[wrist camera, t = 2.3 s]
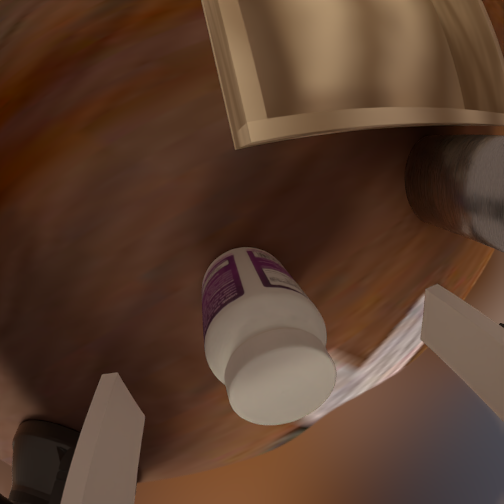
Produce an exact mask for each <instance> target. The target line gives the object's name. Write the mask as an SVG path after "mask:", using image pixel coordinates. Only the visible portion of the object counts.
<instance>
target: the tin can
mask: <svg viewBox="0 0 504 504" xmlns="http://www.w3.org/2000/svg"><path fill="white" fill-rule="evenodd" d="M405 188H406V194H407V198H408V201H409V204H410V206H411V208H412V210H413V211H414V213H415V214H416V215H417V217H418V218H420V219H421V220H422V221H424V222H426V223H428V224H431V225H434V226H437V227H440V228H443V229H445V230H448V231H451V232H454V233H456V234H459V235H462V236H464V237H467V238H469V239H472V240H475V241H477V242H480V243H482V244H485V245H487V246H490V247H492V248H494V249H497V250H499V251H502V252H504V136H498V135H429V136H426V137H423V138H422V139H420V140H419V141H418V142H417V143H416V144H415V145H414V147H413V148H412V150H411V152H410V154H409V157H408V160H407V164H406V169H405Z"/></svg>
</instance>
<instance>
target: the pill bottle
mask: <svg viewBox="0 0 504 504" xmlns="http://www.w3.org/2000/svg"><path fill="white" fill-rule="evenodd" d="M202 313H203V334H204V349H205V355H206V359H207V362H208V364H209V367H210V369H211V370H212V372H213V373H214V375H215V376H216V377H217V378H218V379H219V380H220V381H221V382H222V383H223V384H224V385H225V386H226V390H227V394H228V398H229V402H230V404H231V407H232V408H233V410H234V411H235V412H236V413H237V414H238V415H239V416H240V417H241V418H243V419H245V420H247V421H249V422H252V423H255V424H260V425H280V424H285V423H289V422H293V421H296V420H298V419H300V418H303V417H305V416H306V415H308V414H310V413H311V412H313V411H314V410H316V409H317V408H318V407H319V406H320V405H322V404H323V403H324V402H325V400H326V399H327V398H328V397H329V395H330V394H331V392H332V390H333V388H334V385H335V382H336V368H335V365H334V362H333V360H332V358H331V357H330V355H329V353H328V352H327V349H326V340H327V333H326V327H325V323H324V320H323V318H322V316H321V314H320V312H319V311H318V309H317V308H316V306H315V305H314V304H313V302H312V301H311V300H310V299H309V298H308V297H307V295H306V294H305V293H304V292H303V290H302V289H301V288H300V286H299V285H298V284H297V283H296V282H295V280H294V279H293V278H292V277H291V275H290V274H289V273H288V272H287V270H286V269H285V268H284V267H283V265H282V264H281V263H280V262H279V261H278V260H277V259H276V258H275V257H274V256H272V255H271V254H269V253H268V252H266V251H264V250H261V249H257V248H252V247H241V248H235V249H232V250H229V251H227V252H225V253H223V254H222V255H220V256H219V257H218V258H216V259H215V260H214V261H213V262H212V263H211V265H210V266H209V267H208V269H207V271H206V273H205V276H204V279H203V283H202Z"/></svg>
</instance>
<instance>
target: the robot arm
mask: <svg viewBox="0 0 504 504" xmlns="http://www.w3.org/2000/svg"><path fill="white" fill-rule="evenodd" d="M420 339H421V340H422V341H423V342H424V343H425V344H426V345H427V346H428V347H429V348H430V349H432V351H434V352H435V353H436V354H437V355H438V356H439V357H440V358H441V359H442V360H443V361H444V362H445V363H446V364H447V365H448V366H449V367H450V368H451V369H452V370H453V371H454V372H455V373H456V374H457V375H458V376H459V377H460V378H461V379H462V380H463V381H464V382H465V383H466V384H468V386H469V387H471V389H472V390H473V391H474V392H475V393H476V394H478V396H479V397H480V398H481V399H482V400H483V401H484V402H485V403H486V404H487V405H488V406H489V407H490V408H491V409H492V410H493V411H494V412H495V413H496V414H497V416H498V417H499V418H500V419H501V420H502V421H503V422H504V324H502V323H500V324H497V323H496V322H494V321H493V320H492V319H490V318H488V317H487V316H485V315H484V314H483V313H481V312H480V311H478V310H477V309H475V308H474V307H472V306H471V305H469V304H468V303H467V302H465V301H464V300H462V299H460V298H459V297H457V296H456V295H454V294H453V293H451V292H450V291H448V290H447V289H445V288H443V287H442V286H440V285H439V284H436V285H434V286H431V287H429V288H427V289H425V301H424V313H423V322H422V331H421V338H420ZM144 422H145V415H144V414H143V412H142V411H141V409H140V408H139V406H138V405H137V403H136V402H135V400H134V399H133V397H132V395H131V394H130V392H129V391H128V389H127V387H126V386H125V384H124V382H123V381H122V379H121V377H120V376H119V374H118V372H117V373H109V374H102V376H101V378H100V381H99V383H98V386H97V389H96V391H95V394H94V396H93V399H92V402H91V405H90V407H89V410H88V413H87V416H86V419H85V422H84V424H83V427H82V430H81V433H79V432H76V431H74V430H71V429H69V428H66V427H63V426H60V425H57V424H54V423H50V422H45V421H38V420H30V421H25V422H23V423H22V424H20V426H19V427H18V430H17V432H16V434H15V436H14V439H13V460H12V488H11V492H10V495H9V498H8V499H7V498H6V497H4V496H3V495H2V494H0V504H134V500H135V494H136V485H137V472H138V463H139V456H140V448H141V441H142V435H143V428H144Z"/></svg>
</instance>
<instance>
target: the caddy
mask: <svg viewBox="0 0 504 504" xmlns="http://www.w3.org/2000/svg"><path fill="white" fill-rule="evenodd" d="M201 1H202V6H203V10H204V15H205V19H206V23H207V28H208V32H209V36H210V41H211V45H212V50H213V54H214V58H215V63H216V67H217V72H218V76H219V81H220V85H221V89H222V94H223V98H224V103H225V107H226V112H227V116H228V121H229V125H230V130H231V134H232V139H233V143H234V148H235V150H237V149H242V148H247V147H252V146H257V145H262V144H267V143H273V142H278V141H284V140H290V139H297V138H303V137H310V136H317V135H324V134H332V133H340V132H349V131H358V130H369V129H381V128H396V127H415V126H504V58H503V54H502V51H501V48H500V45H499V42H498V39H497V37H496V34H495V31H494V28H493V26H492V23H491V21H490V18H489V16H488V14H487V11H486V9H485V7H484V4H483V2H482V0H201Z"/></svg>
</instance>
